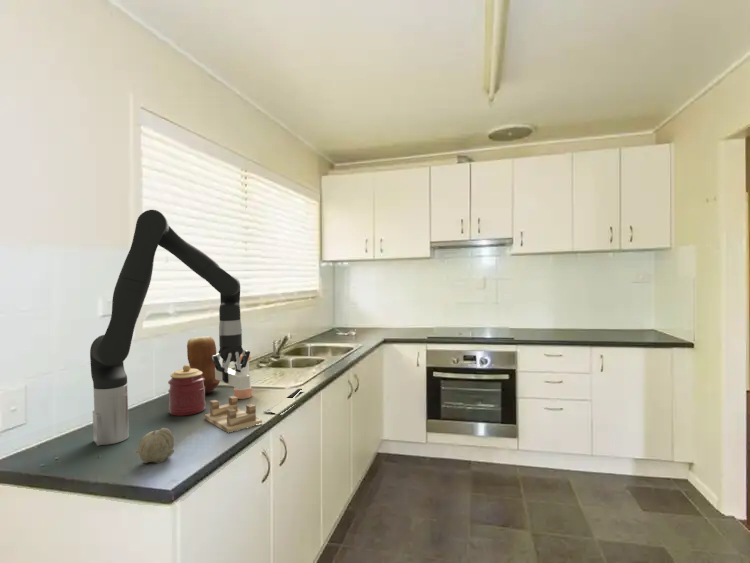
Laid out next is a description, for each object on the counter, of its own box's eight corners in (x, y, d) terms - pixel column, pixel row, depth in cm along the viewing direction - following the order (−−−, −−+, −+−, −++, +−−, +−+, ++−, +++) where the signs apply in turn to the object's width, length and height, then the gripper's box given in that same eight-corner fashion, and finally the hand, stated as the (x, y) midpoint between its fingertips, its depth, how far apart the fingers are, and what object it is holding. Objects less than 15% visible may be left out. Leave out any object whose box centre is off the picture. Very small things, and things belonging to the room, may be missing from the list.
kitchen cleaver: (286, 413, 163) (261, 409, 165) (286, 418, 163) (261, 413, 165) (316, 391, 193) (295, 387, 195) (316, 395, 193) (294, 391, 195)
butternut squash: (200, 388, 202) (199, 333, 202) (226, 390, 199) (225, 334, 198) (179, 396, 189) (178, 338, 188) (206, 398, 185) (205, 339, 185)
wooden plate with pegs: (261, 424, 153) (261, 405, 153) (228, 433, 145) (228, 413, 145) (236, 411, 168) (235, 394, 168) (204, 418, 160) (204, 400, 160)
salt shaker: (238, 400, 183) (237, 353, 182) (231, 396, 188) (230, 351, 188) (254, 396, 188) (253, 351, 187) (247, 393, 193) (246, 349, 192)
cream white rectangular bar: (249, 387, 150) (249, 375, 150) (239, 389, 148) (239, 377, 148) (224, 377, 165) (224, 366, 165) (215, 379, 162) (214, 368, 162)
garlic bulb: (171, 463, 128) (183, 429, 130) (162, 471, 120) (175, 434, 122) (138, 455, 127) (151, 420, 129) (127, 463, 119) (141, 425, 121)
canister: (192, 417, 162) (191, 369, 161) (161, 415, 164) (159, 368, 164) (212, 406, 175) (211, 361, 174) (183, 404, 177) (181, 360, 177)
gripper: (244, 329, 163) (245, 376, 164) (206, 334, 154) (207, 383, 154) (254, 331, 158) (255, 379, 158) (215, 336, 148) (216, 387, 149)
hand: (231, 381), depth 156 cm, fingers closed on cream white rectangular bar, 3 cm apart
